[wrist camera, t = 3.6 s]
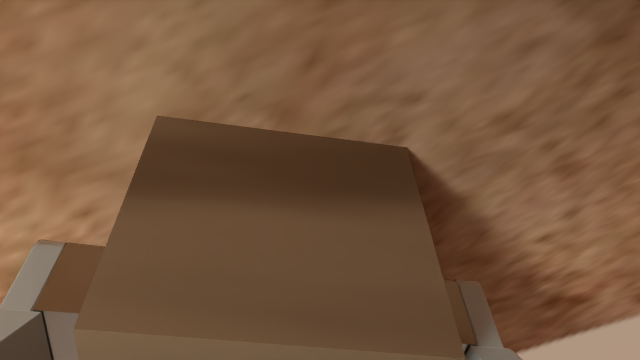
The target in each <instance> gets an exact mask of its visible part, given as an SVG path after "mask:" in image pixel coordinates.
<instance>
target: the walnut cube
mask: <svg viewBox="0 0 640 360" xmlns="http://www.w3.org/2000/svg"><path fill="white" fill-rule="evenodd" d="M73 329H74V335H75V341H76V347H77V353H78V359H79V360H465V359H466V358H465V355H464V351H463V347H462V344H461V340H460V337H459V333H458V329H457V326H456V322H455V319H454V315H453V311H452V308H451V304H450V301H449V297H448V293H447V290H446V286H445V283H444V279H443V275H442V272H441V268H440V265H439V261H438V257H437V254H436V250H435V247H434V243H433V239H432V236H431V232H430V229H429V225H428V221H427V218H426V214H425V211H424V207H423V203H422V200H421V196H420V192H419V189H418V185H417V182H416V178H415V174H414V171H413V167H412V164H411V160H410V156H409V153H408V149H407V148H406V147H398V146H390V145H382V144H375V143H367V142H359V141H351V140H343V139H335V138H327V137H320V136H312V135H304V134H296V133H288V132H280V131H272V130H265V129H257V128H249V127H241V126H233V125H225V124H217V123H210V122H202V121H194V120H186V119H178V118H170V117H163V116H157V117H156V120H155V122H154V125H153V127H152V130H151V132H150V135H149V137H148V140H147V142H146V145H145V148H144V150H143V153H142V155H141V158H140V160H139V163H138V165H137V168H136V170H135V173H134V176H133V178H132V181H131V183H130V186H129V188H128V191H127V193H126V196H125V199H124V201H123V204H122V206H121V209H120V211H119V214H118V216H117V219H116V221H115V224H114V227H113V229H112V232H111V234H110V237H109V239H108V242H107V244H106V247H105V249H104V252H103V255H102V257H101V260H100V262H99V265H98V267H97V270H96V272H95V275H94V277H93V280H92V283H91V285H90V288H89V290H88V293H87V295H86V298H85V300H84V303H83V305H82V308H81V311H80V313H79V316H78V318H77V321H76V323H75V326H74V328H73Z"/></svg>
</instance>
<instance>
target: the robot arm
mask: <svg viewBox="0 0 640 360" xmlns="http://www.w3.org/2000/svg"><path fill="white" fill-rule="evenodd" d="M104 249H105V247H103V246H94V245H86V244H77V243H69V242H68V243H66V242H57V241H48V240H39V241H38V242H37V243H36V244H35V245H33V247H32V249H31V251H30V252H29V254H28V256H27V258H26V260H25V262H24V263H23V265H22V267H21V269H20V271H19V273H18V275H17V276H16V278H15V280H14V282H13V284H12V286H11V287H10V289H9V291H8V293H7V295H6V297H5V298H4V300H3V302H2V304H1V306H0V360H79V359H78V353H77V347H76V341H75V335H74V329H73V328H74V326H75V323H76V321H77V318H78V316H79V313H80V311H81V308H82V305H83V303H84V300H85V298H86V295H87V293H88V290H89V288H90V285H91V283H92V280H93V277H94V275H95V272H96V270H97V267H98V265H99V262H100V260H101V257H102V255H103V252H104ZM443 279H444V283H445V286H446V290H447V293H448V297H449V301H450V304H451V308H452V311H453V315H454V319H455V322H456V326H457V329H458V333H459V337H460V340H461V344H462V347H463V351H464V355H465V358H466V359H465V360H522V359H521V358H520V357H519V356H518V355H517V354H516V353H515V352H514V351H513V350H512V349H507V348H504V347H503V344H502V341H501V338H500V336H499V333H498V330H497V327H496V325H495V322H494V319H493V316H492V313H491V311H490V308H489V305H488V302H487V300H486V297H485V294H484V291H483V288H482V286H481V285H480V283H479V282H478V281H467V280H456V279H454V280H452V279H446V278H443Z"/></svg>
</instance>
